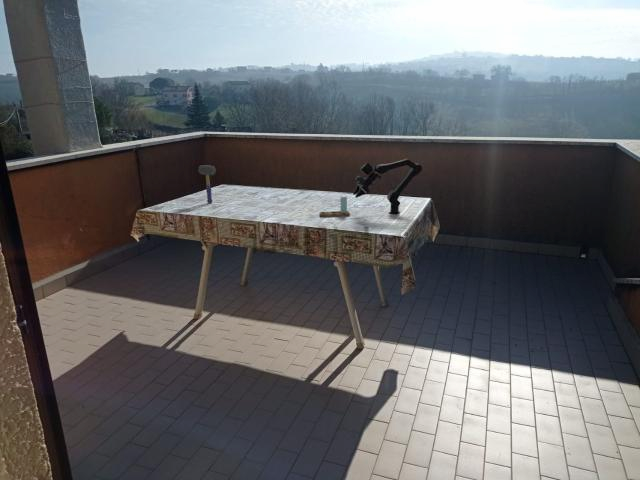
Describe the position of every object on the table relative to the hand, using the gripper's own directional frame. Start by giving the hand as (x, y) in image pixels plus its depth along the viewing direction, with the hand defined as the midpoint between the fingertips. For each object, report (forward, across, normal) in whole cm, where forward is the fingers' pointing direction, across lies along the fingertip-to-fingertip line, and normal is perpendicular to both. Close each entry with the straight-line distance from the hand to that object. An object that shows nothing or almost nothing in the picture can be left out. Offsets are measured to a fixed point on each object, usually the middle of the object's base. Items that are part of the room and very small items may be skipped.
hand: (354, 195), depth 315 cm
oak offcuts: (+22, 0, -3) cm, 23 cm away
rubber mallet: (+85, -54, -65) cm, 120 cm away
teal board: (+15, 0, +4) cm, 15 cm away
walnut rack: (+19, 0, 0) cm, 19 cm away
